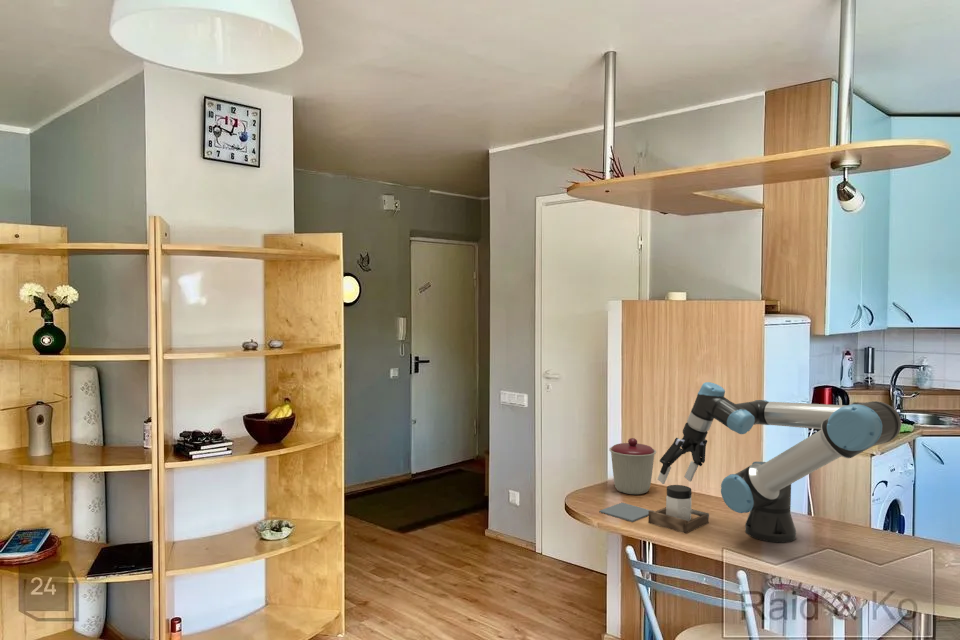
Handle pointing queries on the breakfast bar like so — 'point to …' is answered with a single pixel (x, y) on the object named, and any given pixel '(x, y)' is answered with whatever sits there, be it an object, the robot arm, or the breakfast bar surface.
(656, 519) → the jar holder
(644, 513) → the mat
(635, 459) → the canister
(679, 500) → the jar
